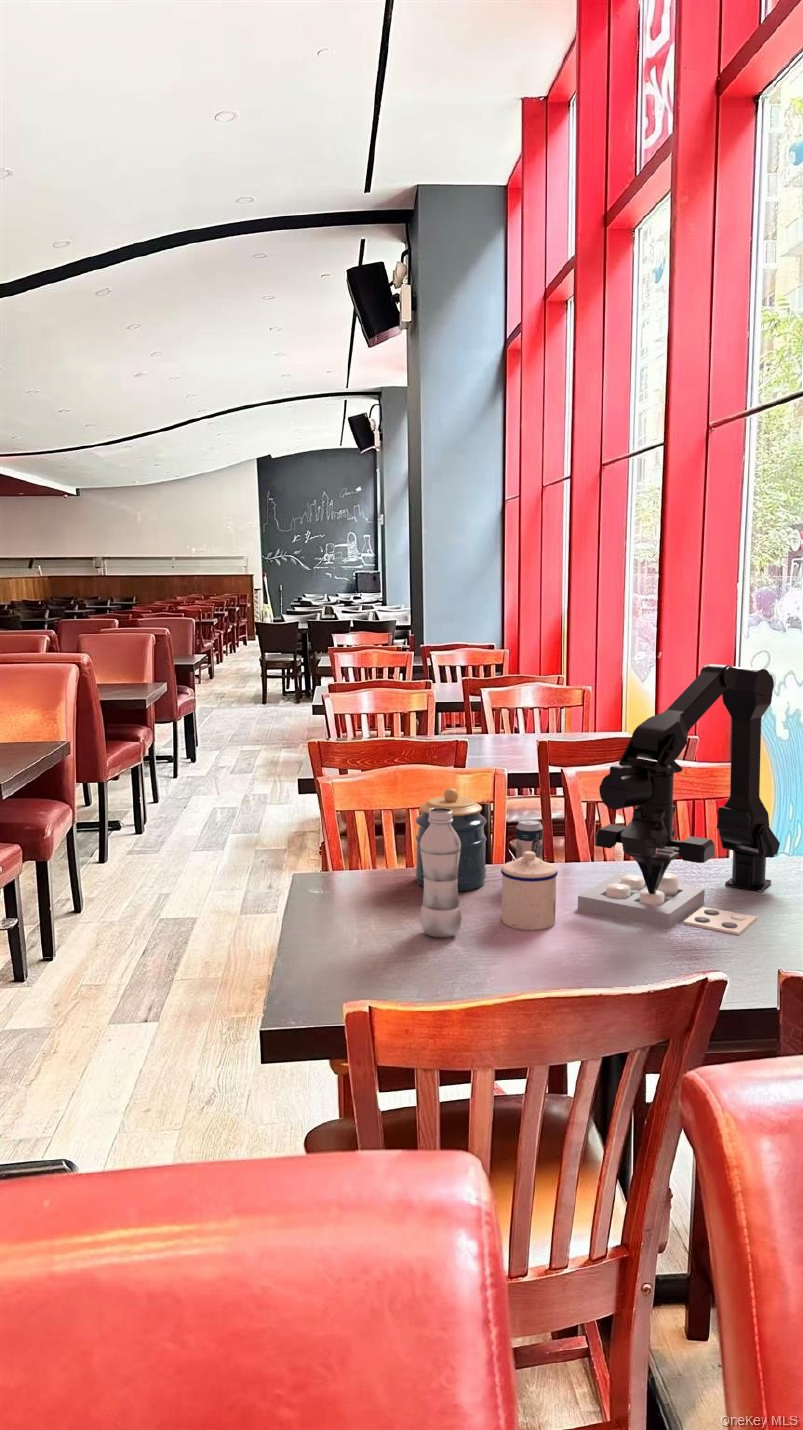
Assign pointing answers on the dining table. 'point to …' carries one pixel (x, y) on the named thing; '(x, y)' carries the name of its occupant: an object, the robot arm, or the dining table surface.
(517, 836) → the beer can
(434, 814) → the plastic bottle
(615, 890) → the button
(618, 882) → the board
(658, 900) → the button
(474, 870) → the canister
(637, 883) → the button
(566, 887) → the dining table surface
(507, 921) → the teacup with lid
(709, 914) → the card
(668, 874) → the button
